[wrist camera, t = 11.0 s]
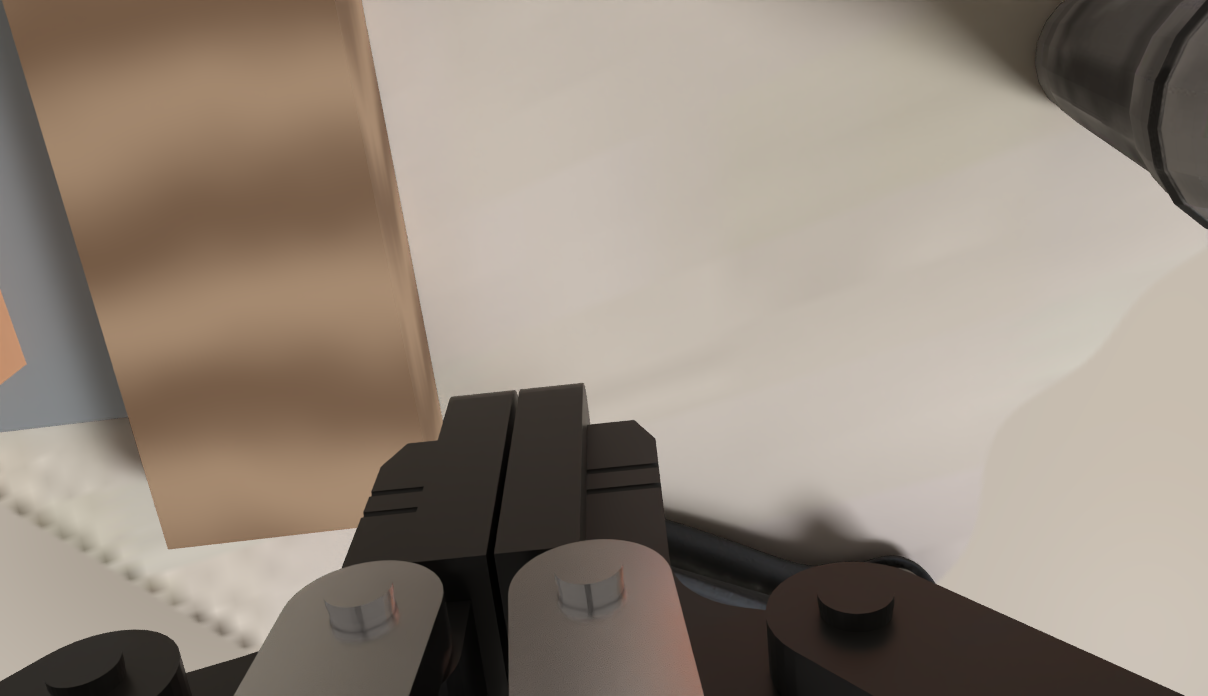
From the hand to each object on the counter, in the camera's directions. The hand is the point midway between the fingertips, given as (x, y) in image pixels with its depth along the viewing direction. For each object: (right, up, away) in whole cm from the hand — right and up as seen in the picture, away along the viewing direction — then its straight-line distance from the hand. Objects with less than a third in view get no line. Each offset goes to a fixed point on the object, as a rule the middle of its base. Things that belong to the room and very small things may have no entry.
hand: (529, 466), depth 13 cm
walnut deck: (-12, +7, +28) cm, 31 cm away
